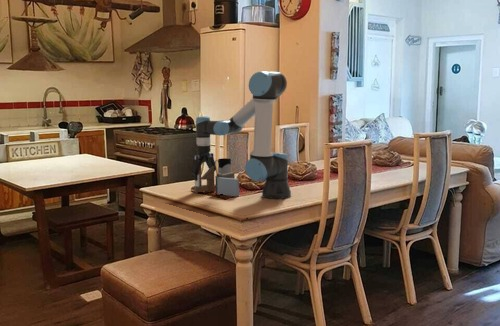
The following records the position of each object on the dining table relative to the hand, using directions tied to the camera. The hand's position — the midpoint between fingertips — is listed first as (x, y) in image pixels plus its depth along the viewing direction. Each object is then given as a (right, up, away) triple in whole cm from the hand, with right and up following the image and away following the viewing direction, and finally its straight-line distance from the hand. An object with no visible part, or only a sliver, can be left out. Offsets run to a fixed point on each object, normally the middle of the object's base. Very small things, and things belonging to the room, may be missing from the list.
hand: (204, 184), depth 288 cm
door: (+14, -5, -9) cm, 17 cm away
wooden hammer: (0, -4, +1) cm, 4 cm away
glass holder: (+9, -1, +24) cm, 25 cm away
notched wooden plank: (+11, -4, -1) cm, 12 cm away
